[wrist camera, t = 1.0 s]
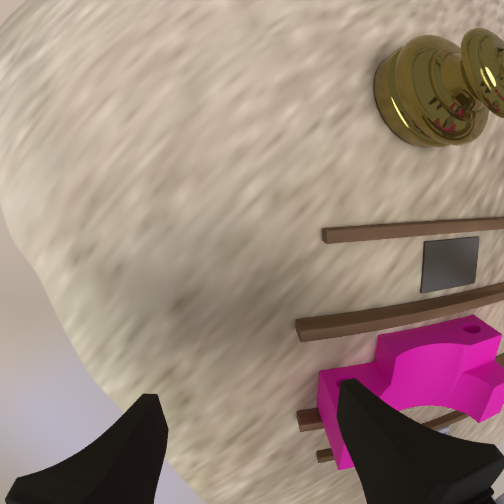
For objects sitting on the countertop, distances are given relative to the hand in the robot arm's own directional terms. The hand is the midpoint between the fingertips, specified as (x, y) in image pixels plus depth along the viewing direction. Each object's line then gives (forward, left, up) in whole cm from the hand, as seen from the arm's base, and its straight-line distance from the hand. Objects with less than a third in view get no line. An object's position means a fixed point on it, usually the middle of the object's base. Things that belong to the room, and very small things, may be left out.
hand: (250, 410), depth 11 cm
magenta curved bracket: (-7, -13, -10) cm, 18 cm away
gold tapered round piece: (+14, -13, -10) cm, 22 cm away
